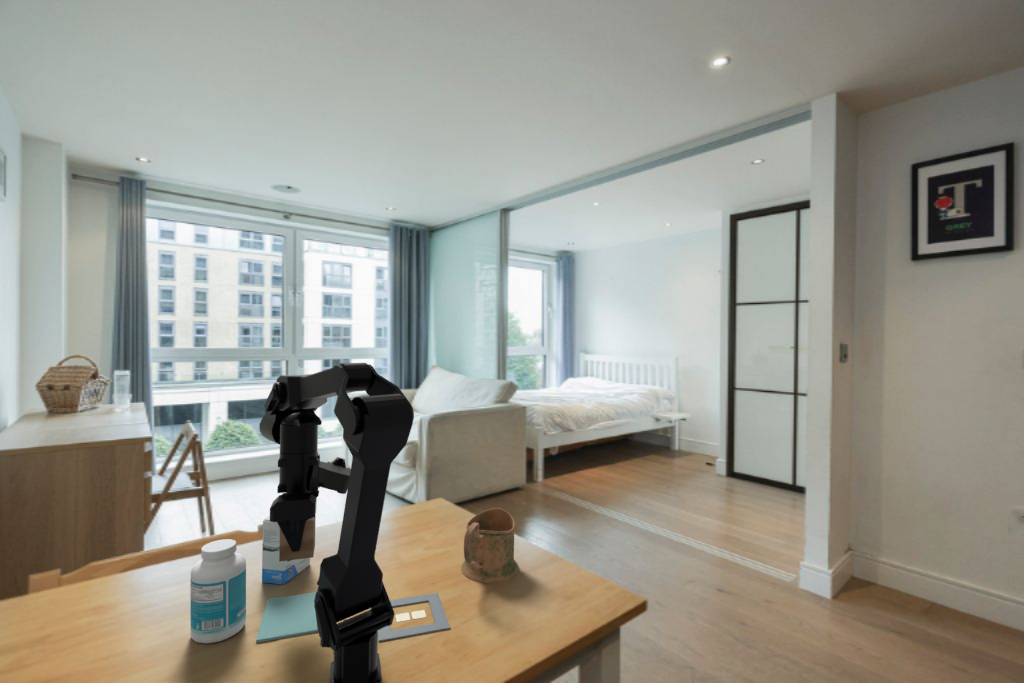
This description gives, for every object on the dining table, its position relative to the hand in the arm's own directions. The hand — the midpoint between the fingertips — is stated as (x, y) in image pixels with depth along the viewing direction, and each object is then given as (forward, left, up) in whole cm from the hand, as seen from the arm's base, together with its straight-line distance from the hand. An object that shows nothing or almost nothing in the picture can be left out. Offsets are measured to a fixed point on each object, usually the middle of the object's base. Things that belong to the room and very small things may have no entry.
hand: (297, 544), depth 80 cm
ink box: (+16, +3, -12) cm, 20 cm away
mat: (0, 0, -12) cm, 12 cm away
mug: (+4, -33, -12) cm, 36 cm away
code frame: (-6, -18, -12) cm, 22 cm away
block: (0, 0, -1) cm, 1 cm away
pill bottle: (-1, +11, -12) cm, 16 cm away
